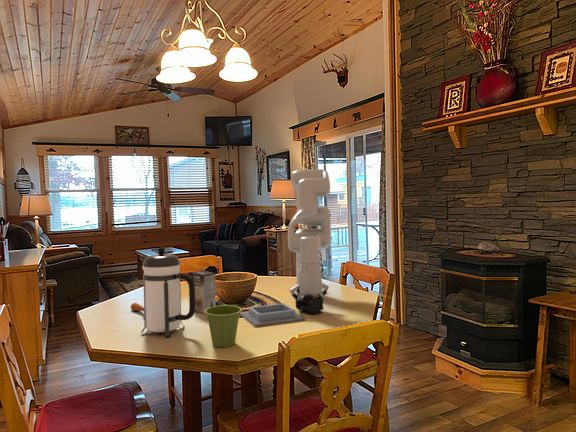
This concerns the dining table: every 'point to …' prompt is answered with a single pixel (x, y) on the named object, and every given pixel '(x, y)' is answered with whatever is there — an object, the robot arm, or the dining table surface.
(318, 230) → the robot arm
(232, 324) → the plant pot
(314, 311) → the black lumpy block
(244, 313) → the tray
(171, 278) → the coffee press
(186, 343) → the dining table surface
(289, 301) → the dining table surface
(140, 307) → the kendama
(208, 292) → the coffee box
